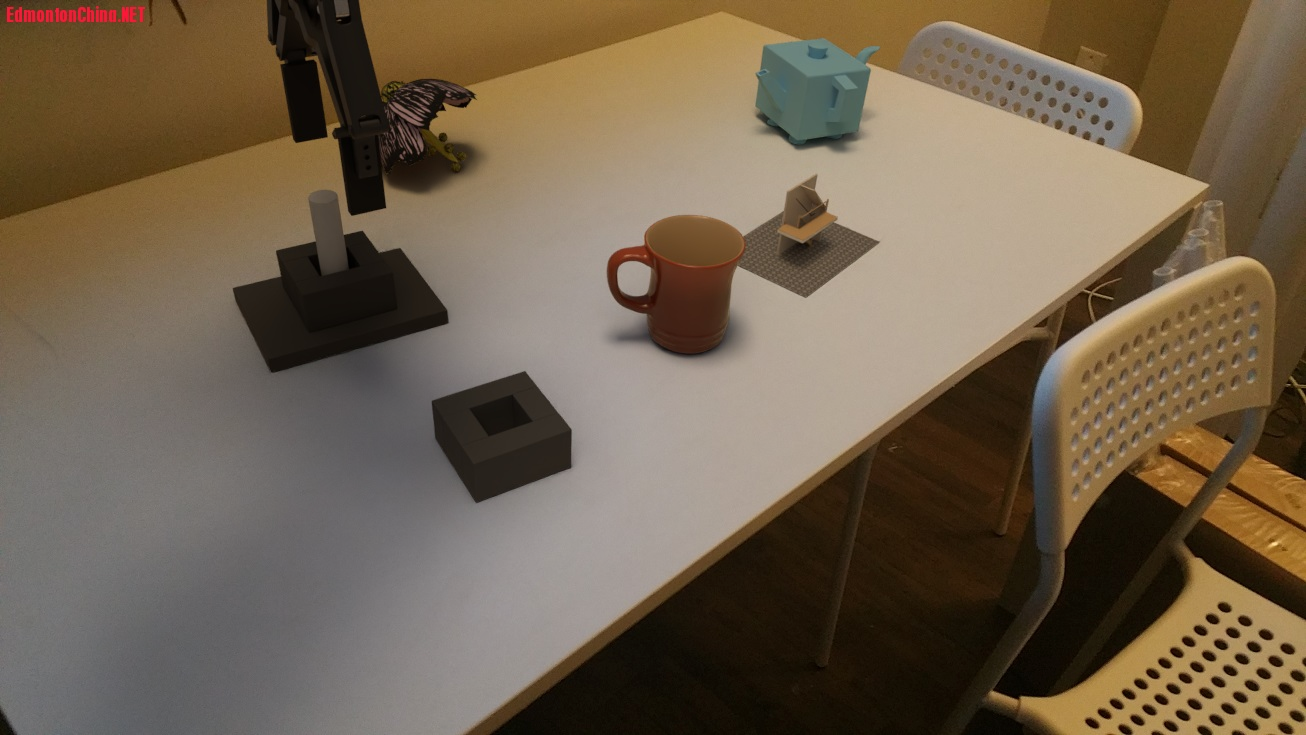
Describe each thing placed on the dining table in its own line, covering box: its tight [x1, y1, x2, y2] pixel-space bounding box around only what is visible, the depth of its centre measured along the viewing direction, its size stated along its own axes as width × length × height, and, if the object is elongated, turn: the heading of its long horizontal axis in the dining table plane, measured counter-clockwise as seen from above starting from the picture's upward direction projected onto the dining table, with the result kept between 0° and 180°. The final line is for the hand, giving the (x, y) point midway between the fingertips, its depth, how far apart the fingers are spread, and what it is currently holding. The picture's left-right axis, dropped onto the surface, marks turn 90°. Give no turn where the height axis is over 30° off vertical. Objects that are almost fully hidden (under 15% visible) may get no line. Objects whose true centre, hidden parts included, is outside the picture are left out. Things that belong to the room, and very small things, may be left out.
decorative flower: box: [378, 78, 478, 177], centre depth 111 cm, size 15×12×15 cm
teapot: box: [754, 37, 881, 145], centre depth 125 cm, size 16×18×11 cm
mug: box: [606, 214, 746, 355], centre depth 88 cm, size 12×9×10 cm
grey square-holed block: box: [431, 370, 573, 503], centre depth 76 cm, size 8×8×4 cm
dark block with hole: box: [275, 230, 397, 333], centre depth 89 cm, size 8×8×4 cm
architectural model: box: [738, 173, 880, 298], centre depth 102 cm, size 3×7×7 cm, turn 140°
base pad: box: [232, 189, 449, 373], centre depth 87 cm, size 16×12×12 cm
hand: (337, 172), depth 79 cm, fingers open, 13 cm apart
